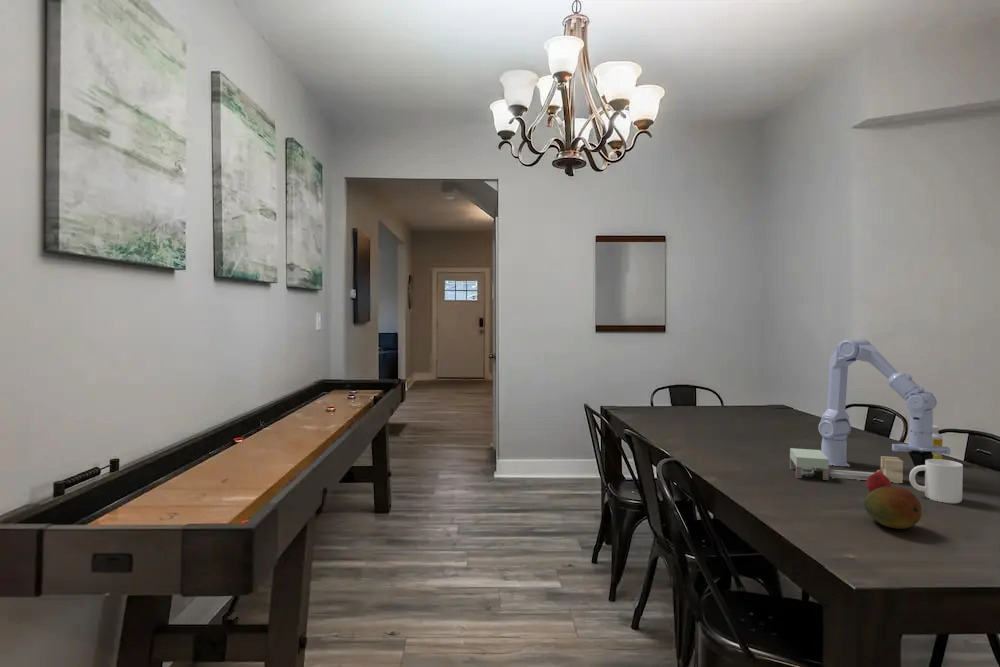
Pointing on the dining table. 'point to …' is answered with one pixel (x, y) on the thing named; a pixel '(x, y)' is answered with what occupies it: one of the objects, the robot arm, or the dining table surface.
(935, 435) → the supplement bottle
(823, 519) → the dining table surface
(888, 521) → the fruit
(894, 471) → the beige piece
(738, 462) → the dining table surface
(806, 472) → the token
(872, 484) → the pomegranate
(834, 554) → the dining table surface
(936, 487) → the mug
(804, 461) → the green top stand
